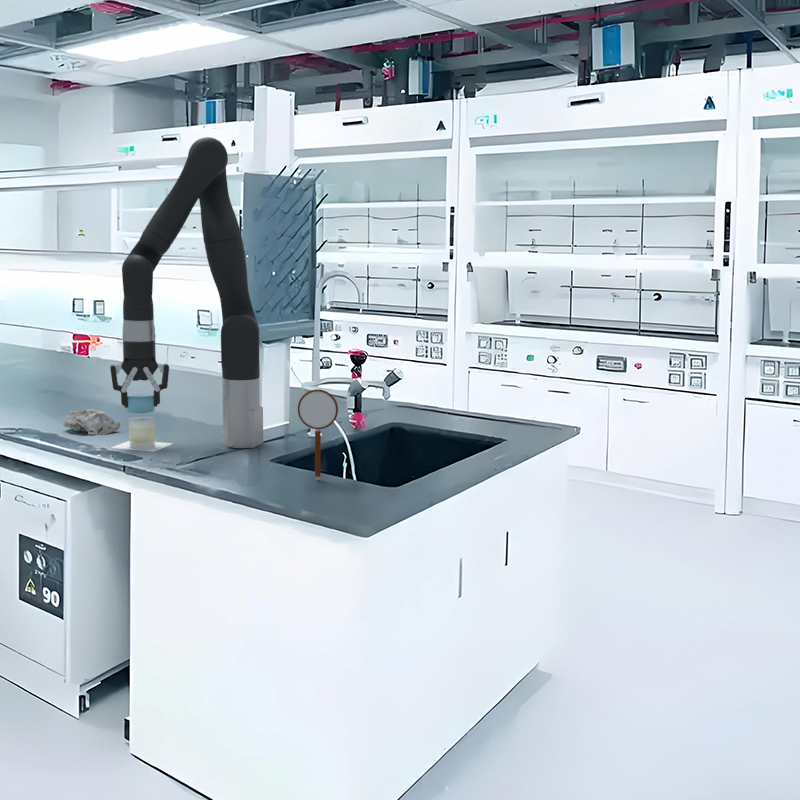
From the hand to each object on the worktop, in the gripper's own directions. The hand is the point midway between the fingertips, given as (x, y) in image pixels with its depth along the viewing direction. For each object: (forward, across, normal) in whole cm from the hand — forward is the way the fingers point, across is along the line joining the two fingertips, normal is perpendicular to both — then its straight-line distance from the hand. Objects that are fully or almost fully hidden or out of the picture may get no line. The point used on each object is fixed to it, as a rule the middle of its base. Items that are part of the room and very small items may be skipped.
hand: (140, 406), depth 210 cm
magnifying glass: (+10, -34, +41) cm, 54 cm away
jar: (+10, 0, 0) cm, 10 cm away
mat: (+11, 0, -2) cm, 11 cm away
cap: (+1, 0, 0) cm, 1 cm away
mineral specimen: (+11, +12, -22) cm, 27 cm away
